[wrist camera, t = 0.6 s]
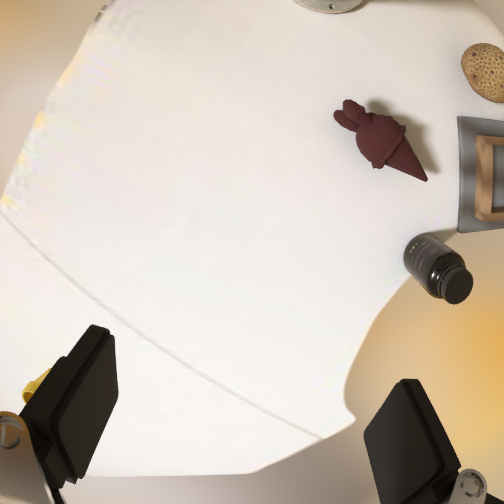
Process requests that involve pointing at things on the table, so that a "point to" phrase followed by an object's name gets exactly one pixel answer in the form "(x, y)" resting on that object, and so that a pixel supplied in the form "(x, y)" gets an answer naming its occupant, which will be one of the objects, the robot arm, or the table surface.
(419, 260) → the supplement bottle
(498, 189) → the collar board
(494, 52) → the natural sponge
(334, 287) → the table surface
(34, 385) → the plant pot
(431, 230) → the table surface
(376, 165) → the icecream
